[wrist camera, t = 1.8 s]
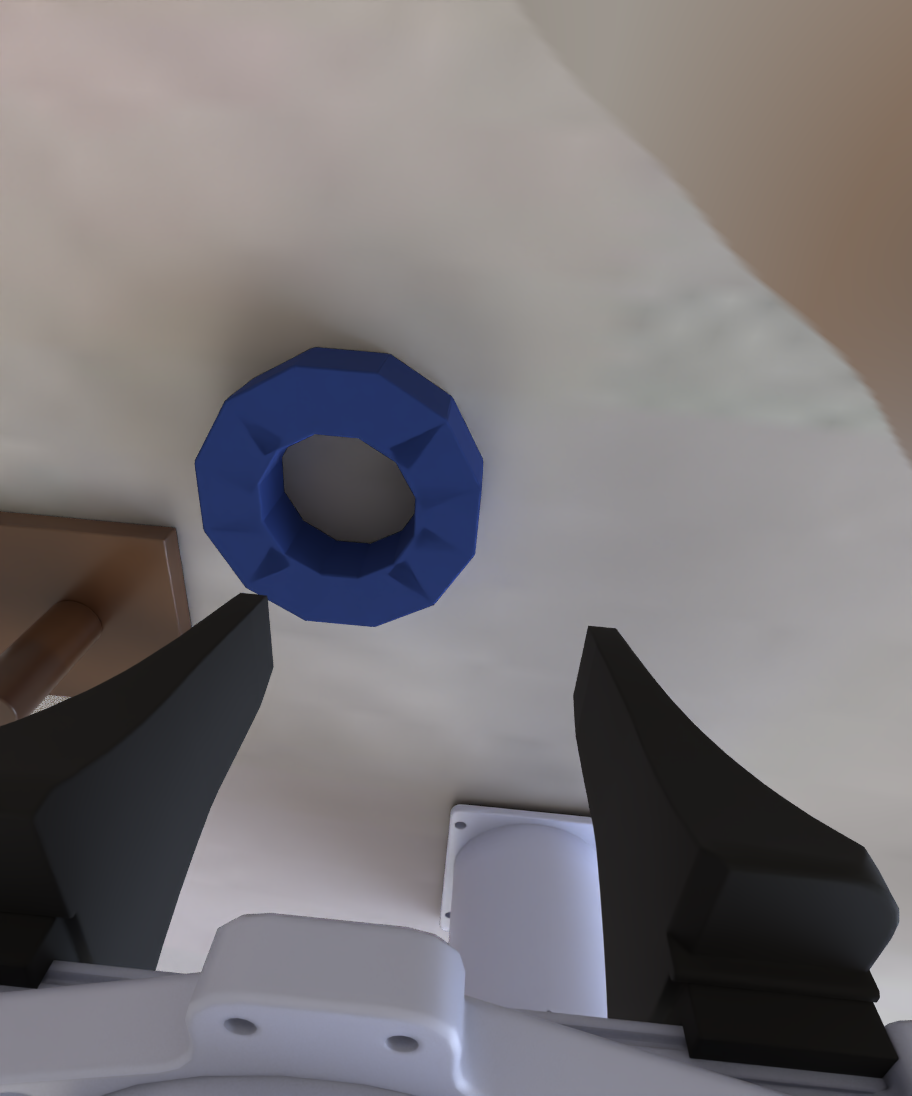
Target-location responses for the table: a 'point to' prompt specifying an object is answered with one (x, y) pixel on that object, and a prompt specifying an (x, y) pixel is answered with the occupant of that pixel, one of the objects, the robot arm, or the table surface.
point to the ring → (302, 550)
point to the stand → (82, 604)
